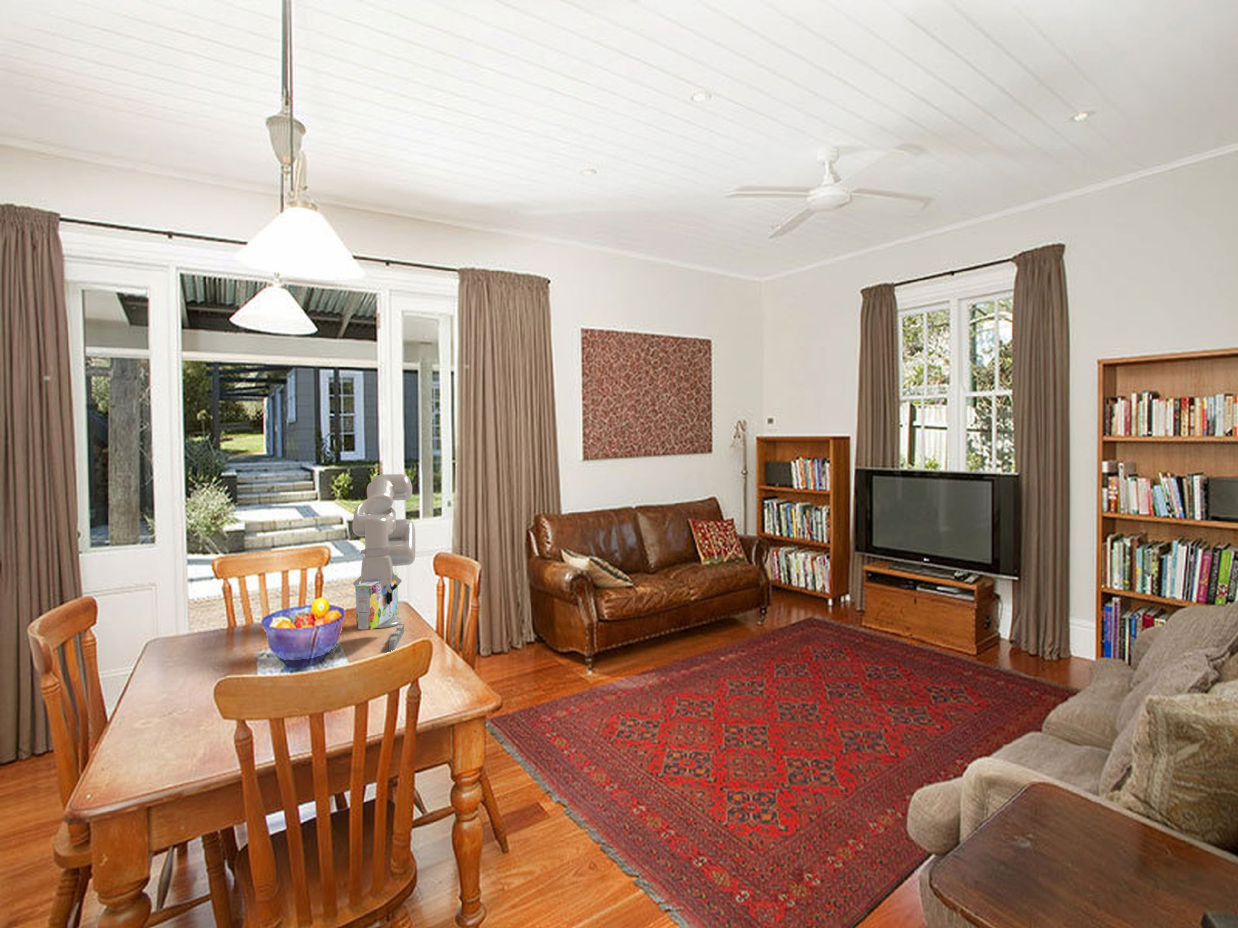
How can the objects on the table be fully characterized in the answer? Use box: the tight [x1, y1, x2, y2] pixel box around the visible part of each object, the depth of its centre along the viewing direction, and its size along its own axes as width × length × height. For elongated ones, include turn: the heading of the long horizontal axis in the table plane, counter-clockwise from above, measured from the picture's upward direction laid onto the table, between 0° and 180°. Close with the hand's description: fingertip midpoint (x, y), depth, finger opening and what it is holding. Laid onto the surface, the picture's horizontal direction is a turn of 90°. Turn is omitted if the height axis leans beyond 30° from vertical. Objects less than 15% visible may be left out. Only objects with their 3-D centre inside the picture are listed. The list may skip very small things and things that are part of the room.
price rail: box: [388, 623, 405, 652], centre depth 221 cm, size 22×2×3 cm, turn 10°
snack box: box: [354, 572, 400, 631], centre depth 219 cm, size 21×6×15 cm, turn 175°
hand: (378, 603), depth 219 cm, fingers closed on snack box, 6 cm apart
